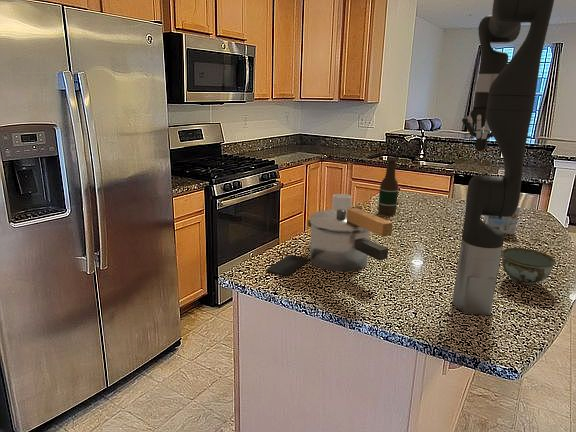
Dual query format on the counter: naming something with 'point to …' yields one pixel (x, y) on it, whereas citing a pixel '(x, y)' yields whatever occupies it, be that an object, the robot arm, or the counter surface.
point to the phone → (287, 265)
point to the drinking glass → (341, 202)
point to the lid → (350, 222)
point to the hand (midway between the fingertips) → (480, 151)
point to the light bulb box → (503, 222)
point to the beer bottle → (388, 191)
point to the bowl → (526, 265)
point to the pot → (343, 250)
